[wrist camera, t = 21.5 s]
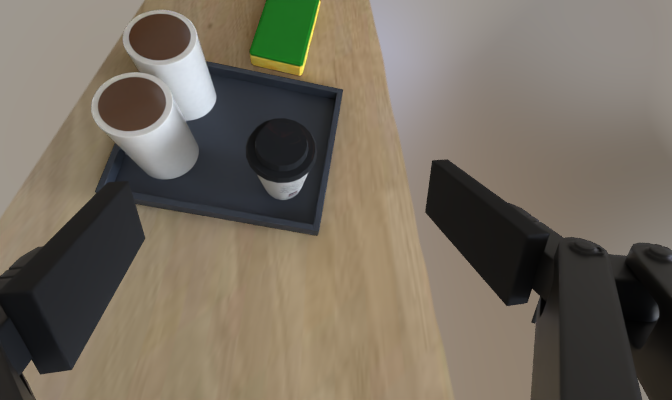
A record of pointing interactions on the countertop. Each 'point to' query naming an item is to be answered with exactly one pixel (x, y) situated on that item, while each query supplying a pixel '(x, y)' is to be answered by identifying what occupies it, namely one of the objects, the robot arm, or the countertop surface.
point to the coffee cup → (281, 156)
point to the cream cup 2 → (172, 58)
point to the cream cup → (146, 124)
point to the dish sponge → (284, 35)
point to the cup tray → (242, 154)
